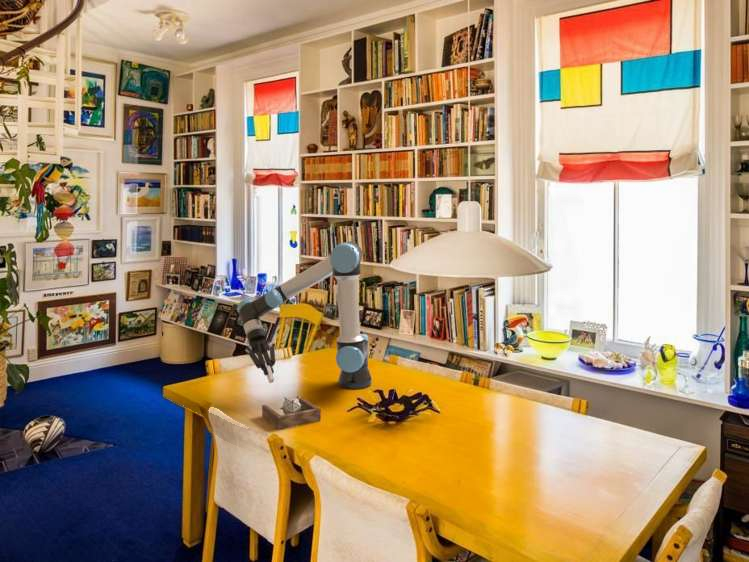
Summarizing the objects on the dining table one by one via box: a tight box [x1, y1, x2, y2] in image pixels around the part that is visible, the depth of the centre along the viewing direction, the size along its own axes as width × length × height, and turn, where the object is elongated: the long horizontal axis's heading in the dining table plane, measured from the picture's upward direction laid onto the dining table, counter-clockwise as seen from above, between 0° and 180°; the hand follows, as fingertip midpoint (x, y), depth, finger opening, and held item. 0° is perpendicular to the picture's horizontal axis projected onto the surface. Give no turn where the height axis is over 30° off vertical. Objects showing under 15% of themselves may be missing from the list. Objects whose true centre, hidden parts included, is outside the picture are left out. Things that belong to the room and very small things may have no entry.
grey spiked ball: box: [280, 395, 303, 415], centre depth 225 cm, size 9×8×10 cm
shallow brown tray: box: [261, 397, 322, 430], centre depth 225 cm, size 17×15×4 cm
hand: (271, 381), depth 239 cm, fingers closed
